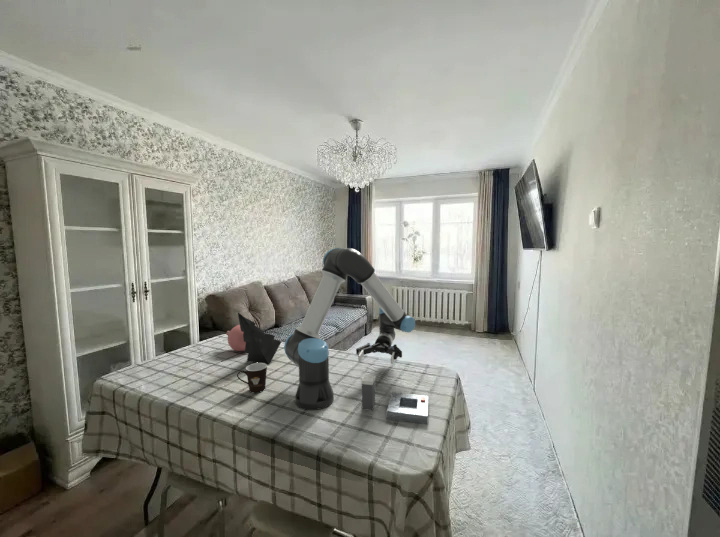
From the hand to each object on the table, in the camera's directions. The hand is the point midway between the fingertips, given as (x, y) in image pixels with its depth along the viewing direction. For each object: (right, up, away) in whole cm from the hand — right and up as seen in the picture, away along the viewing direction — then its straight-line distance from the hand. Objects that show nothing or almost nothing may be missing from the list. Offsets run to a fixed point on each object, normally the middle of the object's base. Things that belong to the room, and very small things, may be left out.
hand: (375, 359), depth 126 cm
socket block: (+12, -15, -13) cm, 23 cm away
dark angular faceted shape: (-60, -12, +34) cm, 70 cm away
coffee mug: (-52, -14, +6) cm, 54 cm away
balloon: (-78, -11, +55) cm, 96 cm away
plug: (-3, -15, -10) cm, 18 cm away
